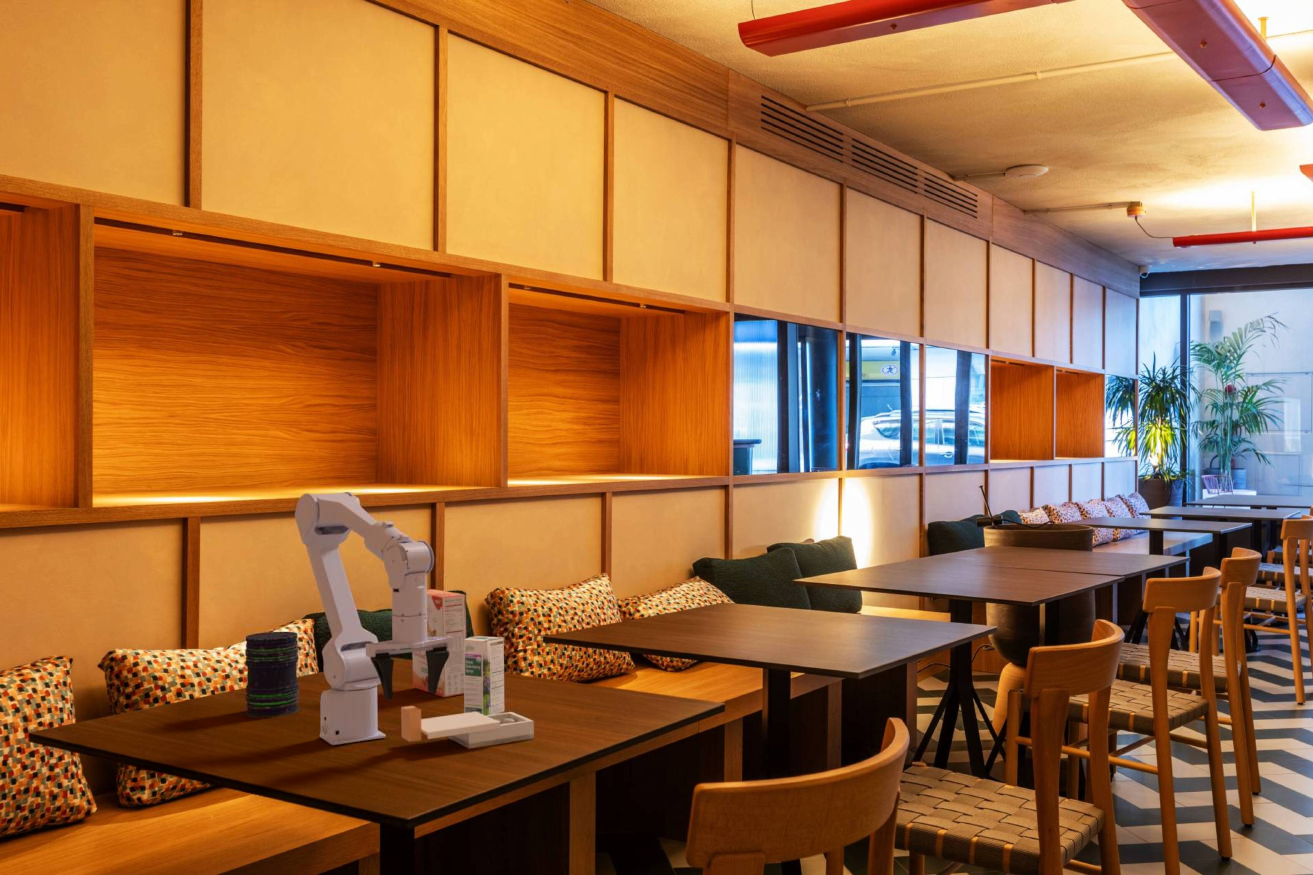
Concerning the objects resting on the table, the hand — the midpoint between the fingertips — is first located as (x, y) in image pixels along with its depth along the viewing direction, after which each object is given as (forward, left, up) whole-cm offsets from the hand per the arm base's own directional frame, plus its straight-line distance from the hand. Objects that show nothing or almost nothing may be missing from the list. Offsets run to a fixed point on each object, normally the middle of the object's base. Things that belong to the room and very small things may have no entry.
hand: (410, 695), depth 191 cm
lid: (+6, 0, -7) cm, 10 cm away
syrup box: (+21, +19, -9) cm, 30 cm away
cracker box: (+22, +45, -9) cm, 51 cm away
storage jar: (-12, +46, -9) cm, 48 cm away
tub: (+14, 0, -9) cm, 17 cm away
